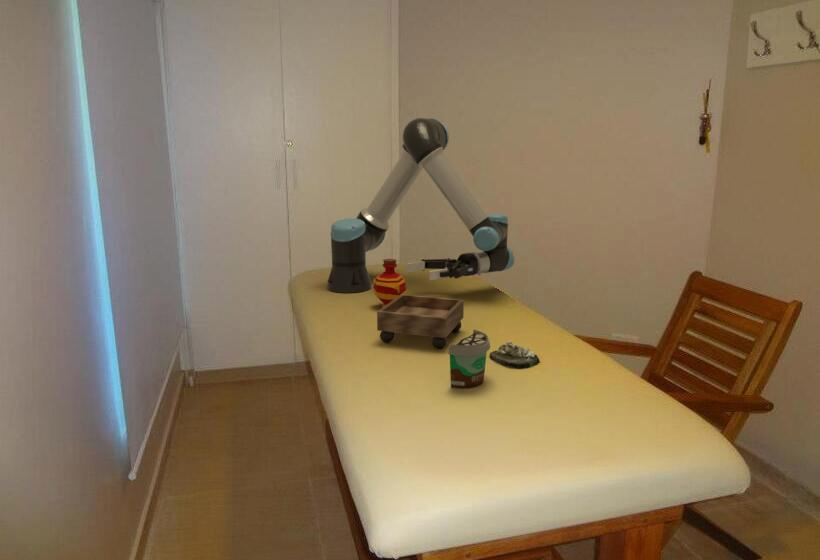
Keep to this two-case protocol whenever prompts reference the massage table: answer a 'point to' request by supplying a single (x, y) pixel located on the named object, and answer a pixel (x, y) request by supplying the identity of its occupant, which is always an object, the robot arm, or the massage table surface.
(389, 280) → the potion bottle
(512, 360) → the grey lumpy piece
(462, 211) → the robot arm
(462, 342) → the food container
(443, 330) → the dolly
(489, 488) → the massage table surface
